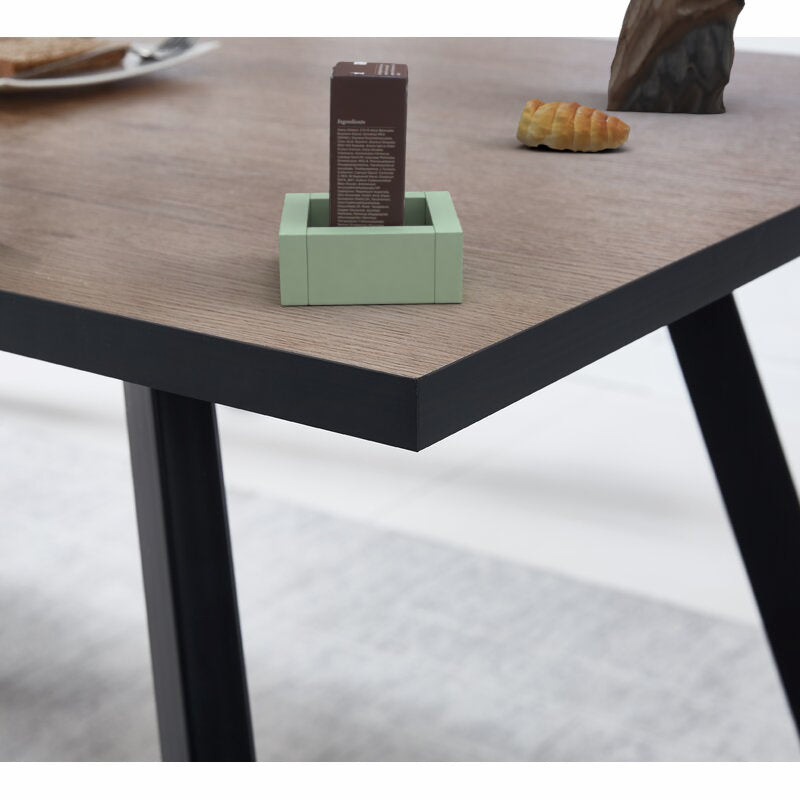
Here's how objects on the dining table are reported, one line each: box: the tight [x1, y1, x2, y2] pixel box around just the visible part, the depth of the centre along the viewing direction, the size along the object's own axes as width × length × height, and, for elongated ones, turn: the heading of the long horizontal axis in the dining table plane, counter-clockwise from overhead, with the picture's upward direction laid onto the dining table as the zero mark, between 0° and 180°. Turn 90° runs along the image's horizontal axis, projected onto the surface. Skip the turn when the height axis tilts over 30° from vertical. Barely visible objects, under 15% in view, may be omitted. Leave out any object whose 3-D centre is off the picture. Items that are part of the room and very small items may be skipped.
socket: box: [277, 190, 464, 307], centre depth 75 cm, size 10×10×4 cm
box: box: [328, 61, 409, 227], centre depth 74 cm, size 6×4×12 cm
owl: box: [606, 0, 746, 115], centre depth 130 cm, size 13×13×20 cm
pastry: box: [515, 98, 631, 153], centre depth 112 cm, size 9×7×4 cm
